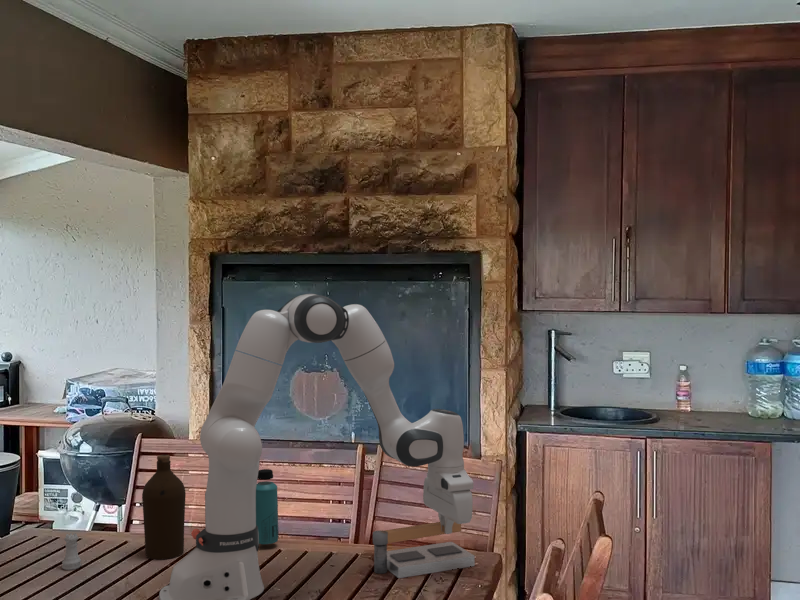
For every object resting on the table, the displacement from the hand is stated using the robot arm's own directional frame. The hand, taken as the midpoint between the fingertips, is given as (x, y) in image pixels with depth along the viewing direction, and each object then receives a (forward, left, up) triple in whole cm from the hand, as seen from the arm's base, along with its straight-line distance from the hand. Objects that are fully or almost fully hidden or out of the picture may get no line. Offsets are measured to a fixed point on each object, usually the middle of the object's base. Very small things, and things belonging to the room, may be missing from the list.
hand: (446, 532), depth 200 cm
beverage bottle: (-37, +32, -8) cm, 49 cm away
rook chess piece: (-84, +36, -8) cm, 91 cm away
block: (-6, +2, -8) cm, 10 cm away
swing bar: (-7, +2, -1) cm, 7 cm away
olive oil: (-62, +37, -8) cm, 72 cm away
